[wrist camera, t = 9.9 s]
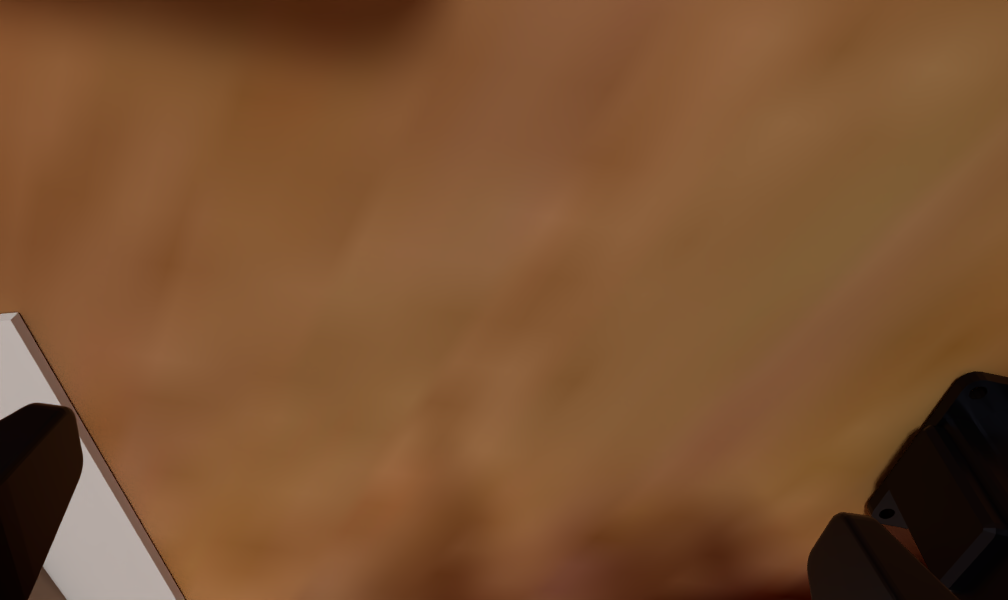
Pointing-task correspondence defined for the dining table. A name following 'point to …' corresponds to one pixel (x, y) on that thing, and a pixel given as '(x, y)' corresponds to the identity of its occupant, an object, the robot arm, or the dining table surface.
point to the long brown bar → (46, 588)
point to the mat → (83, 496)
